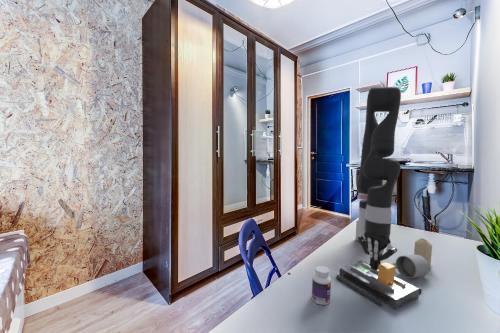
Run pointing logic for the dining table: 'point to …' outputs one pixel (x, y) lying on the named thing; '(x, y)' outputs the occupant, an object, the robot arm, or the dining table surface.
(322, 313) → the dining table surface
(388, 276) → the lever
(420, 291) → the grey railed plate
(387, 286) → the panel
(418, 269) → the ceramic mug
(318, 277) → the pill bottle
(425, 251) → the candle
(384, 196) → the robot arm
